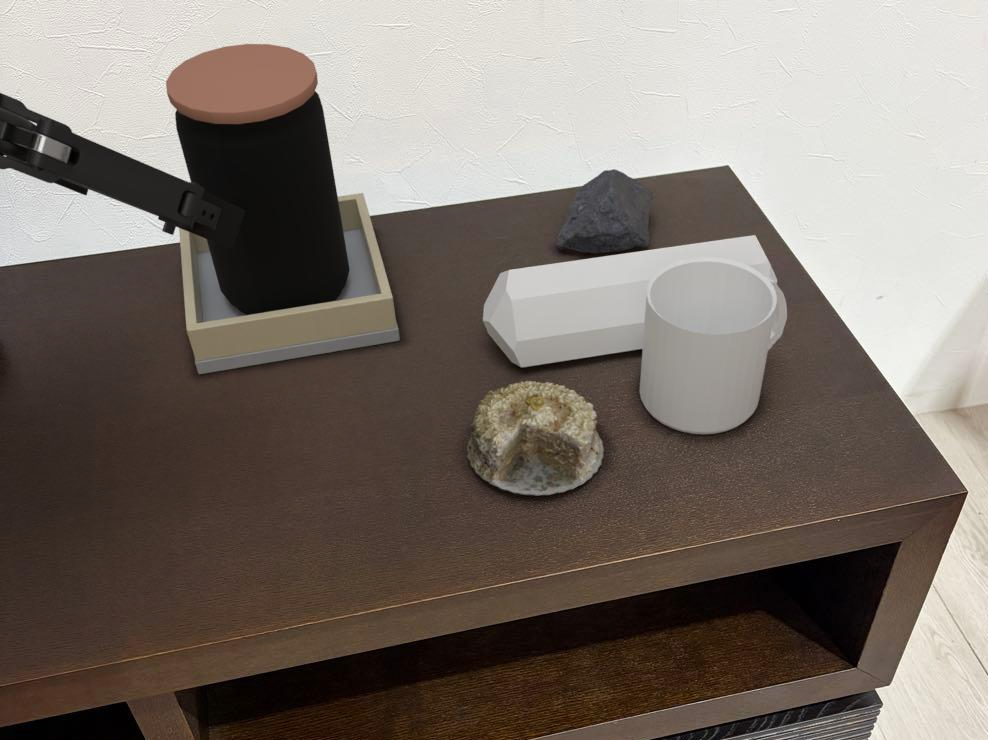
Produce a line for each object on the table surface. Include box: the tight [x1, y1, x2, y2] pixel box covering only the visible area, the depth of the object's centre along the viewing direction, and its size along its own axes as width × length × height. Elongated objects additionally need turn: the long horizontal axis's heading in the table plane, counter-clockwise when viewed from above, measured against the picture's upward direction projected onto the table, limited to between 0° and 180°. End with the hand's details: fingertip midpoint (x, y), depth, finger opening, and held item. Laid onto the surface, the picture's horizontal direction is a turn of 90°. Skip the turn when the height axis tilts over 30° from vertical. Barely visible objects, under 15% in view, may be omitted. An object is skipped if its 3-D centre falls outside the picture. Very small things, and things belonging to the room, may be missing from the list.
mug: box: [638, 257, 788, 435], centre depth 80 cm, size 12×9×9 cm
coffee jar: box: [165, 43, 350, 315], centre depth 85 cm, size 11×11×18 cm
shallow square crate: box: [178, 192, 401, 375], centre depth 91 cm, size 16×16×4 cm
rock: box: [556, 168, 654, 255], centre depth 96 cm, size 9×6×10 cm
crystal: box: [482, 234, 778, 368], centre depth 87 cm, size 7×7×24 cm
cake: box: [465, 380, 605, 497], centre depth 78 cm, size 10×10×5 cm
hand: (159, 201), depth 76 cm, fingers open, 13 cm apart
